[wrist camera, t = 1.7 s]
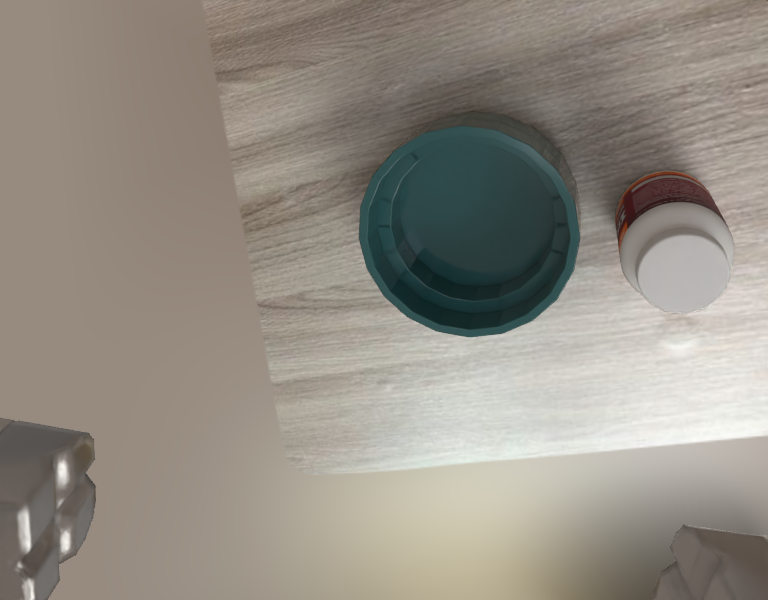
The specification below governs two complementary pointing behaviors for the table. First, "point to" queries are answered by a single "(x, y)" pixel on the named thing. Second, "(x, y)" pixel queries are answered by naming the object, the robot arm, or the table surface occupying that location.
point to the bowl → (472, 225)
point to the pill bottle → (673, 242)
